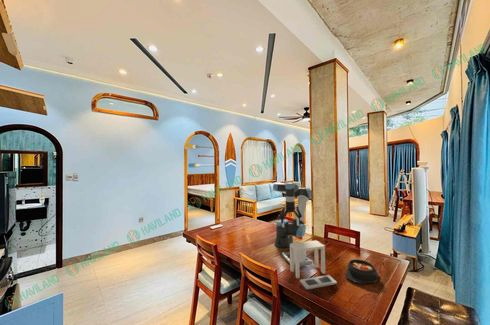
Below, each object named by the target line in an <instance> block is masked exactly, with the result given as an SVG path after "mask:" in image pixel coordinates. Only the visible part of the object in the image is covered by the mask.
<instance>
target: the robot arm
mask: <svg viewBox="0 0 490 325" xmlns="http://www.w3.org/2000/svg"><path fill="white" fill-rule="evenodd" d="M272 191H273V192H280V193H283V194H285V207H283V206H282V207H281V211H280V214H279V216H278V219H279V220H278V219H277V220H276V222H275V233H276V234H275V239H274V244H273V245H274V246H275V247H276V248H281V249H286V248H289V236H293V237H296V238H303V237H304V236H305V234H306V224H305V222H304V218H305V214H306V213H305V212H306V209H307V208H306V207H307V203H308V202H309V200H311V199H312V193H311V189H310V188H309V187H301V186H299V185H298V183H295V182H286V183H282V182H274V183H273V185H272ZM295 199H297V203H295V202H296V200H295ZM289 213H294V218H293V219H292V220H291V222H290V221H289V220H288V219H286V218H285V217H286V216H287V214H289Z"/></svg>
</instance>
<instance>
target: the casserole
mask: <svg viewBox="0 0 490 325" xmlns="http://www.w3.org/2000/svg"><path fill="white" fill-rule="evenodd" d="M346 265H347V268H346V270H345V271H346V272H345V273H344V276H345V278H347V279H348V280H350V281H352V282H353V283H355V284H356V283H357V284H360V285H365V284H370V283H371V284H372V283H376V282H378V281H379V273H378V271H377V269H376V267H375V266H374V265H373V264H372V263H370V262H369V261H365V260H361V259H350V260H349V261H348V262H347V264H346Z"/></svg>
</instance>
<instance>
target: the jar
mask: <svg viewBox="0 0 490 325" xmlns="http://www.w3.org/2000/svg"><path fill="white" fill-rule="evenodd" d="M300 242H301V241H293V243H300ZM306 257H307V251H300V252H299V262H303V261H306ZM294 263H295V250H294Z"/></svg>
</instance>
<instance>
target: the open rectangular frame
mask: <svg viewBox="0 0 490 325" xmlns="http://www.w3.org/2000/svg"><path fill="white" fill-rule="evenodd" d="M299 242H300V243H294V242H293V243H292V244H290V255H289V259H290V263H289V268H290V269H289V271H290V272H292V273H293V272H294V273H295V278H296V279H299V282H300V283H302V284H301V285H302V286H303V287H304V289H306V290H312V289H316V288H323V287H328V286H332V285H337V284H338V282H337V280H335V279H334V278H333V277H332V276H331V275H329V274H326V245H325V244H323V243H321V241H318V240H309V241H299ZM294 250H295V267H294ZM319 250H320V265H319ZM300 251H306V252H307V251H313V252H314V254H313V255H314V268H316V269H317V268H319V266H320V272H321V274H322V275H321V276H320V275H319V276H316V277H309V278H303V279H300V277H301V273H300V272H301V271H300V268H301V266H299V252H300Z"/></svg>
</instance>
